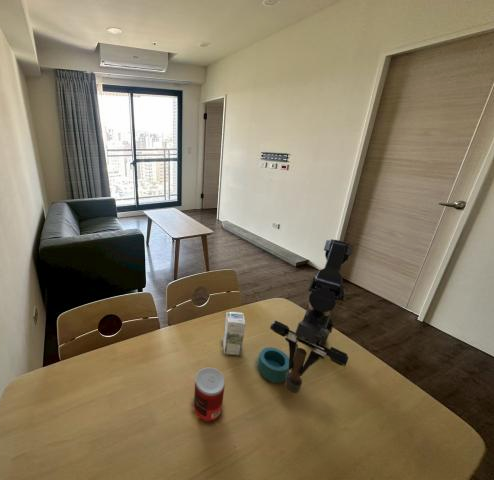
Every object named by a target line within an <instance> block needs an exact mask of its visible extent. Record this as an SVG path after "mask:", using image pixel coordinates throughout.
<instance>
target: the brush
mask: <svg viewBox="0 0 494 480" xmlns="http://www.w3.org/2000/svg"><path fill="white" fill-rule="evenodd" d="M307 353H308V352H307V350H306V349H304V348H302V347H298V348H297V349H296V353H295V357H294V361H293V365H292V368H291V370H290V372H289V373H288V374H287V375H286V379H285V381H284V382H283V383H284V384H283V385H284V388H285V389H286V390H287V392H289V393H291V394H298V393H299V392H301V389H302V385H303V379H302V378H301V376H300V375H299V374H300V372H301V369H302V368H303V366H304V364H305V362H306V358H307Z"/></svg>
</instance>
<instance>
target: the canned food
mask: <svg viewBox="0 0 494 480" xmlns="http://www.w3.org/2000/svg"><path fill="white" fill-rule="evenodd" d="M225 383H226V381H225V377H224V375H223V373H222V372H220V370H218V369H217V368H214V367H204V368H202V369H200V370H198V371H197V373H196V375H195V380H194V393H193V394H194V395H193V409H194V412H195V415H196V416H197V417H198V418H199V419H200V420H201V421H204V422H213V421H215V420H217V419H218V418H219V416H220V415H221V412H222V409H223V400H224V394H225V386H226V385H225Z"/></svg>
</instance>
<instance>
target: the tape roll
mask: <svg viewBox="0 0 494 480" xmlns="http://www.w3.org/2000/svg"><path fill="white" fill-rule="evenodd" d="M257 370H258V372H259V374H260V375H261V376H262V377H263V379H266V380H267V381H268V382H269V381H270V382H271V383H282V382H283V383H284V382H285V379H286V375H287V374H288V373H290V370H289V356H288V354H286V353H285V352H284V351H282V350H281V349H279V348H277V347H272V346H268V347H264V348H262V349H261V350H260V352H259V355H258V360H257Z"/></svg>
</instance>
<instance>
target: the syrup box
mask: <svg viewBox="0 0 494 480" xmlns="http://www.w3.org/2000/svg"><path fill="white" fill-rule="evenodd" d="M246 325H247V324H246V321H245V315H244V312H238V311H226V315H225V322H224V332H223V340H222V345H223V353H224V355H230V356H241V355H242V349H243V343H244V337H245V330H246Z"/></svg>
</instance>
